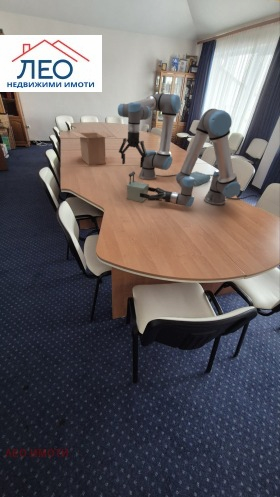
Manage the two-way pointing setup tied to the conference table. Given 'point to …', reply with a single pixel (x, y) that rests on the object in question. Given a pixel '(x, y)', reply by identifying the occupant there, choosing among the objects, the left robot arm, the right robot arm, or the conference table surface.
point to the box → (92, 146)
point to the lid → (136, 183)
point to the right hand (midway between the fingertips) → (143, 191)
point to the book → (199, 178)
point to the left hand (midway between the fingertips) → (132, 165)
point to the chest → (136, 194)
